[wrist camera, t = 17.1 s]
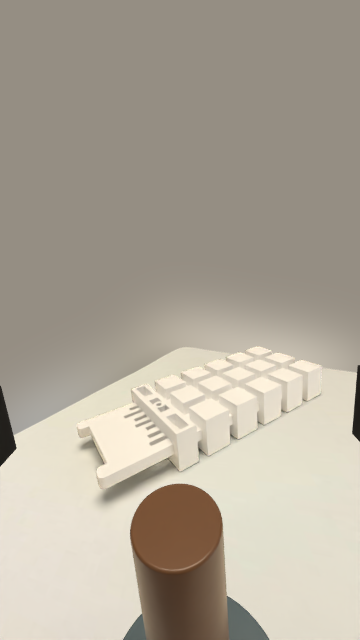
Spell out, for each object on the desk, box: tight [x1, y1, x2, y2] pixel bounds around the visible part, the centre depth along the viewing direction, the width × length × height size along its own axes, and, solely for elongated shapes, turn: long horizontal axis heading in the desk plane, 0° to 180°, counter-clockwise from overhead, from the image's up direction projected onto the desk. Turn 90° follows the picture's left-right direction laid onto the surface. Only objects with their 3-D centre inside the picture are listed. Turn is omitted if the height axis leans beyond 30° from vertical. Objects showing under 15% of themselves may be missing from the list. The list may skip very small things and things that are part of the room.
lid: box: [123, 484, 269, 640], centre depth 8 cm, size 6×6×9 cm
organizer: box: [77, 346, 322, 489], centre depth 39 cm, size 13×5×35 cm
